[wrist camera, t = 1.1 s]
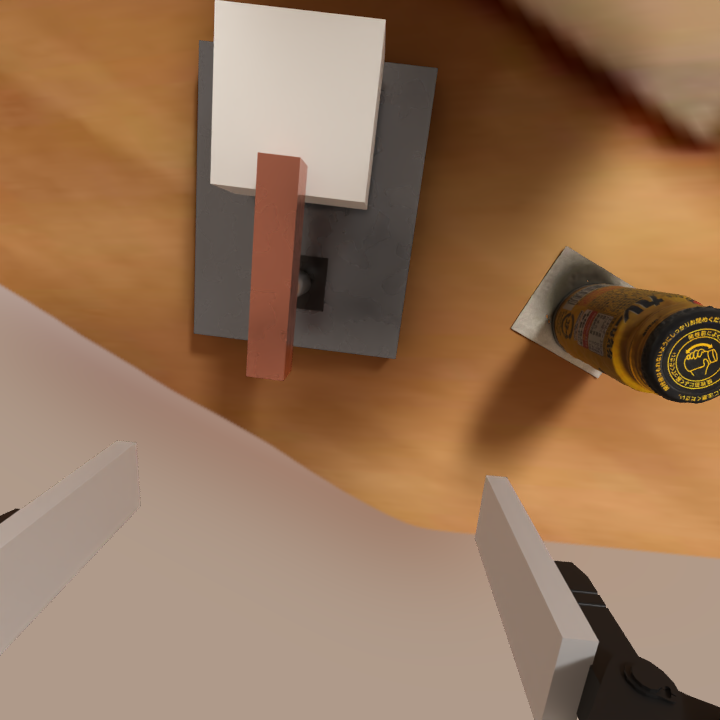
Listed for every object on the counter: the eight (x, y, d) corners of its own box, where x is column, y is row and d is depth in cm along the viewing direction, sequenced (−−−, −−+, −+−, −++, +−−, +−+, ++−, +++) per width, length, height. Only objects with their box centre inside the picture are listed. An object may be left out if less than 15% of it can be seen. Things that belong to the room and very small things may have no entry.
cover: (241, 39, 26) (215, -1, 22) (384, 56, 26) (385, 19, 21) (234, 193, 28) (210, 183, 24) (366, 209, 28) (364, 202, 24)
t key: (291, 180, 29) (257, 152, 21) (322, 184, 29) (300, 157, 21) (280, 344, 32) (245, 376, 24) (308, 348, 32) (283, 381, 24)
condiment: (596, 377, 34) (708, 441, 23) (510, 327, 33) (579, 367, 22) (654, 300, 32) (808, 326, 21) (564, 246, 32) (671, 241, 20)
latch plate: (210, 54, 29) (160, -6, 23) (434, 80, 29) (450, 28, 22) (204, 328, 35) (161, 347, 28) (394, 353, 34) (398, 377, 28)
